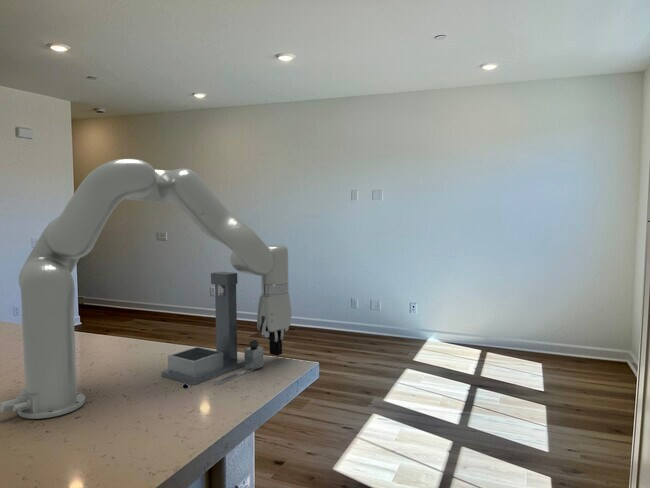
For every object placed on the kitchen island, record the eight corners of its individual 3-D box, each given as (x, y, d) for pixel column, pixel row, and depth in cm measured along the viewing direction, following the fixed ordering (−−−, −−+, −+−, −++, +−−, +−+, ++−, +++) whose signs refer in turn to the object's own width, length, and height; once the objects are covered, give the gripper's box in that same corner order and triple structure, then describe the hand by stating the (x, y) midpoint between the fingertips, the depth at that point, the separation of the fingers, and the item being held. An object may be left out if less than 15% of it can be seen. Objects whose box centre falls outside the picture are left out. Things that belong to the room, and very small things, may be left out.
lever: (253, 369, 124) (252, 342, 123) (244, 367, 125) (244, 340, 125) (263, 365, 127) (263, 338, 127) (255, 363, 129) (254, 337, 128)
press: (207, 389, 112) (205, 283, 110) (161, 376, 121) (159, 278, 119) (260, 367, 128) (259, 274, 126) (216, 357, 137) (215, 270, 135)
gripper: (281, 285, 141) (282, 346, 142) (246, 292, 128) (247, 359, 129) (301, 286, 137) (302, 349, 138) (267, 294, 124) (269, 363, 125)
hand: (275, 354), depth 134 cm, fingers closed
